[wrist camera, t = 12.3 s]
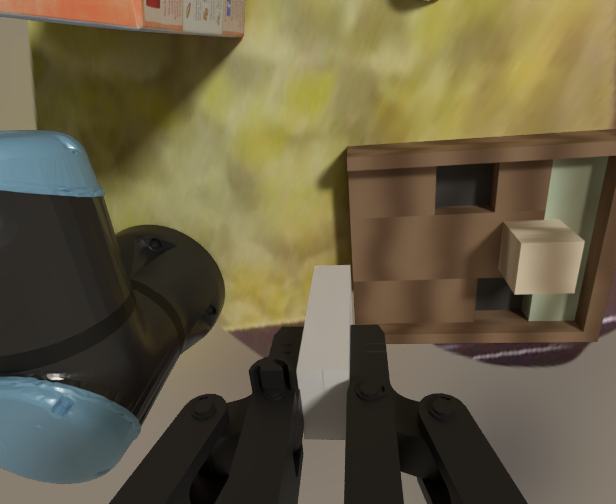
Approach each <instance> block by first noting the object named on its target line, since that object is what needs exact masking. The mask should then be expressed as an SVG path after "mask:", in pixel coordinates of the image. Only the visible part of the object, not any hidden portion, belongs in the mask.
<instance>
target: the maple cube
mask: <svg viewBox="0 0 616 504" xmlns="http://www.w3.org/2000/svg"><path fill="white" fill-rule="evenodd" d="M584 243H585V241H584V240H583V239H582V238H581V237H579V236H578V235H577V234H576V233H575V232H574V231H573V230H571V229H570V228H569V227H568V226H567V225H566V224H564V223H563V222H562V221H561V220H560V219H552V220H528V221H504V222H503V228H502V237H501V246H500V255H499V264H498V269H499V271H500V272H501V274H502V276H503V277H504V279H505V280H506V282H507V283H508V285H509V287H510V288H511V290H512V291H513V293H514V295H519V294H563V293H575V288H576V283H577V278H578V273H579V268H580V263H581V258H582V253H583V248H584Z"/></svg>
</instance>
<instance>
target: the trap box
mask: <svg viewBox="0 0 616 504" xmlns="http://www.w3.org/2000/svg"><path fill="white" fill-rule="evenodd" d="M347 171H348V182H349V203H350V225H351V246H352V267H353V288H354V308H355V325H374V324H378V325H379V327H380V328H381V329H382V330H383V332H384V333H385V342H386V344H425V343H427V344H428V343H524V342H597V341H598V337H599V333H600V329H601V325H602V321H603V316H604V312H605V308H606V304H607V300H608V296H609V291H610V287H611V283H612V279H613V275H614V271H615V266H616V129H609V130H594V131H579V132H563V133H548V134H533V135H517V136H502V137H487V138H471V139H456V140H441V141H425V142H410V143H395V144H379V145H364V146H349V147H347ZM552 219H560V220H561V221H562V222H563V223H564V224H566V225H567V226H568V227H569V228H570V229H571V230H573V231H574V232H575V233H576V234H577V235H578V236H579V237H581V238H582V239H583V240H584V241H585V243H584V248H583V253H582V258H581V263H580V268H579V273H578V278H577V283H576V288H575V293H563V294H519V295H514V293H513V291H512V290H511V288H510V287H509V285H508V283H507V282H506V280H505V279H504V277H503V276H502V274H501V272H500V271H499V269H498V264H499V255H500V246H501V237H502V228H503V222H504V221H528V220H552Z"/></svg>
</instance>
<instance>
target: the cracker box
mask: <svg viewBox="0 0 616 504" xmlns="http://www.w3.org/2000/svg"><path fill="white" fill-rule="evenodd" d="M244 15H245V0H0V17H9V18H17V19H25V20H33V21H42V22H50V23H59V24H69V25H78V26H87V27H97V28H107V29H119V30H130V31H142V32H156V33H171V34H186V35H200V36H217V37H233V38H242V37H243V36H244Z"/></svg>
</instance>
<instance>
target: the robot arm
mask: <svg viewBox="0 0 616 504" xmlns="http://www.w3.org/2000/svg"><path fill="white" fill-rule="evenodd" d="M103 196H105V192H104V190H103V188H101V187H100V186H99V183H98V181H97V178H96V176H95V173H94V171H93V168H92V166H91V163H90V161H89V158H88V155H87V153H86V151H85V149H84V147H83V146H82V145H81V143H80V142H79V141H77V140H76V139H75V138H73V137H72V136H70V135H68V134H65V133H62V132H58V131H47V130H24V131H23V130H20V131H0V468H2V469H4V470H7V471H9V472H12V473H15V474H17V475H19V476H22V477H25V478H28V479H33V480H37V481H41V482H49V483H57V484H71V483H82V482H87V481H90V480H93V479H96V478H98V477H101V476H102V475H104V474H106V473H108V472H109V471H110V470H111V469H112V468H114V466H115V465H116V464H117V463H118V462H119V461H120V459H121V458H122V456H123V455H124V453H125V452H126V450H127V449H128V447H129V446H130V444H131V443H132V441H133V440H135V439H136V438H137V437H138V435H139V433H140V431H141V430H140V429H141V426H142V424H143V422H144V420H145V419H146V417H147V415H148V413H149V411H150V409H151V407H152V405H153V404H154V402H155V400H156V398H157V396H158V394H159V392H160V390H161V389H162V387H163V385H164V383H165V381H166V379H167V378H168V376H169V374H170V372H171V370H172V369H173V367H174V365H175V363H176V361H177V359H178V358H179V356H180V354H182V353H183V352H184V351H186V350H187V349H188V348H190V347H191V346H192V345H194V344H195V343H196V342H198V341H199V340H201V339H202V338H203V337H204V336H205V335H206V334H207V333H208V332H209V331H210V330H211V329H212V327H213V326H214V324H215V323H216V321H217V319H218V317H219V315H220V313H221V310H222V308H223V304H224V299H225V287H224V281H223V277H222V275H221V272H220V270H219V268H218V266H217V264H216V262H215V261H214V259H213V258H212V257H211V255H210V254H209V253H208V252H207V251H206V250H205V249H204V248H203V247H202V246H201V245H200V244H199V243H198V242H196V241H195V240H194V239H192V238H190V237H189V236H187V235H185V234H183V233H181V232H179V231H177V230H174V229H171V228H168V227H164V226H158V225H139V226H134V227H130V228H127V229H125V230H122V231H120V232H119V233H117V234H116V235H115V233H114V229H113V226H112V223H111V220H110V216H109V213H108V210H107V206H106V203H105V200H104V197H103ZM249 375H250V381H251V386H252V391H253V392H252V394H251V395H250V396H248V397H246V398H243V399H240V400H237V401H233V402H229V403H226V401H225V400H224V399H223V398H222V397H221V396H219V395H216V394H205V395H201V396H198V397H196V398H194V399H192V400H191V401H189V403H187V404H186V405H185V406H184V408H183V409H182V410H181V411H180V413H179V414H178V415H177V417H176V418H175V419H174V420H173V422H172V423H171V424H170V426H169V427H168V428H167V430H166V431H165V432H164V433H163V435H162V436H161V437H160V439H159V440H158V441H157V442H156V444H155V445H154V446H153V448H152V449H151V450H150V452H149V453H148V454H147V455H146V457H145V458H144V459H143V460H142V462H141V463H140V464H139V466H138V467H137V468H136V470H135V471H134V472H133V473H132V475H131V476H130V477H129V478H128V480H127V481H126V482H125V484H124V485H123V486H122V488H121V489H120V490H119V491H118V493H117V494H116V496H115V497H114V498H113V499H112V500H111V502H110V503H109V504H297V503H298V495H299V486H300V477H301V470H302V462H303V447H302V438H303V430H304V438H305V439H326V440H327V439H328V440H346V447H345V490H344V504H404V501H403V492H402V481H401V472H404V473H407V474H410V475H413V476H416V477H417V480H418V483H419V485H420V488H421V490H422V493H423V495H424V497H425V500H426V502H427V504H527V502H526V500H525V499H524V497H523V495H522V494H521V492H520V491H519V489H518V488H517V486H516V484H515V483H514V481H513V480H512V478H511V477H510V475H509V473H508V472H507V470H506V469H505V467H504V466H503V464H502V463H501V461H500V459H499V458H498V456H497V455H496V453H495V452H494V450H493V448H492V447H491V445H490V444H489V442H488V441H487V439H486V438H485V436H484V435H483V433H482V431H481V430H480V428H479V427H478V425H477V423H476V422H475V420H474V419H473V417H472V416H471V414H470V412H469V411H468V409H467V408H466V406H465V405H464V404H463V403H462V402H461V401H460V400H458V399H457V398H455V397H453V396H451V395H446V394H443V393H440V394H431V395H428V396H425V397H424V398H423V399H422V400H421V401H420V402H417V401H414V400H410V399H407V398H405V397H403V396H401V395H399V394H398V393H397V392H396V391H394V389H393V388H392V386H391V384H390V380H389V371H388V361H387V352H386V342H385V333H384V332H383V330H382V329H381V328H380V327H379V325H378V324H374V325H353V311H352V290H351V270H350V265H332V266H315V267H314V273H313V278H312V284H311V290H310V296H309V301H308V307H307V313H306V319H305V324H304V327H281V329H280V330H279V331H278V332H277V333H276V334H275V335H274V338H273V342H272V347H271V349H270V354H269V357H265V358H263V359H260V360H258V361H257V362H256V363H254V364H253V365H252V366H251V368H250V369H249ZM400 471H401V472H400Z"/></svg>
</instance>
